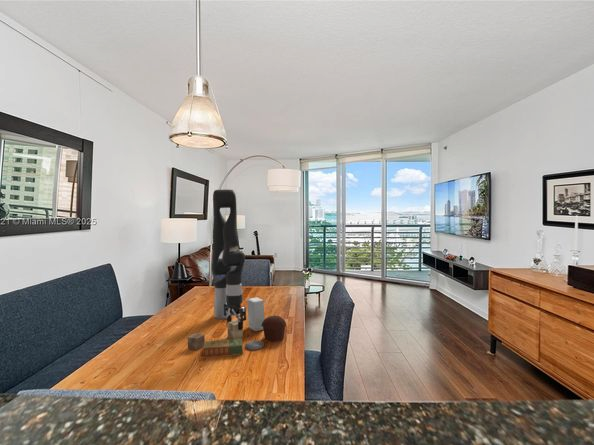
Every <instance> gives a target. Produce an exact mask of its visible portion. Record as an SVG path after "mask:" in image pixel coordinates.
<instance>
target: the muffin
mask: <svg viewBox="0 0 594 445" xmlns="http://www.w3.org/2000/svg"><path fill="white" fill-rule="evenodd" d="M261 326H262V327H263V330H262V331H263V336H264V340H265V341H267V342H272V343H273V342H274V343H276V342H281V341H282V340H283V339H284V338H285V330H286V326H287V322H286V320H285V319H284V318H283V317H281V316H279V315H270V316H268V317H266V318H265V319H264V321H263V322H262V324H261Z"/></svg>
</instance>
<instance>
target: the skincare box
mask: <svg viewBox="0 0 594 445" xmlns="http://www.w3.org/2000/svg"><path fill="white" fill-rule="evenodd" d="M246 302H247V304H246V305H247V320H248V321H247V322H248V325H247V326H248V328H249V329H250V330H252V331H253V332H258V331H264V330H263V327H262V326H261V324H262V322H263V321H264V319H266V318H265V305H264V302H265V301H264V300H263V299H262V298H259V297H257V296H256V297H251V298H247V300H246Z"/></svg>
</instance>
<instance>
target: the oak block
mask: <svg viewBox="0 0 594 445" xmlns="http://www.w3.org/2000/svg"><path fill="white" fill-rule="evenodd" d="M226 325H227V326H226V327H227V339H239V338H243V337H244V335H243V333H244V332H243V329H244V328H243V329H242V330H238V320H237V319H235V320H232V321H231V322H228V323H227V322H226Z"/></svg>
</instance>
